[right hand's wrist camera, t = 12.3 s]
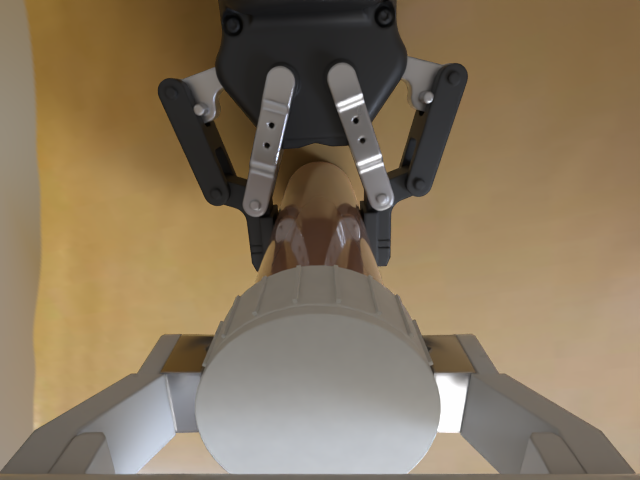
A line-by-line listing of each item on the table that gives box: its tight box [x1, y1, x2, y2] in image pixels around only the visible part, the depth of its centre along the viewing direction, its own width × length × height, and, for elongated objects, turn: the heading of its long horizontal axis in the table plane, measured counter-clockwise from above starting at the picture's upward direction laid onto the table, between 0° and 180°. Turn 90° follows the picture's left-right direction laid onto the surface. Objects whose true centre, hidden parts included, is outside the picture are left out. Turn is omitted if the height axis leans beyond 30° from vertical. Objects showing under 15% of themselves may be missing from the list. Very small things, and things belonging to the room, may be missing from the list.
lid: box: [195, 265, 441, 474], centre depth 10 cm, size 6×6×2 cm
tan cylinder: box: [254, 161, 384, 286], centre depth 18 cm, size 4×4×19 cm
